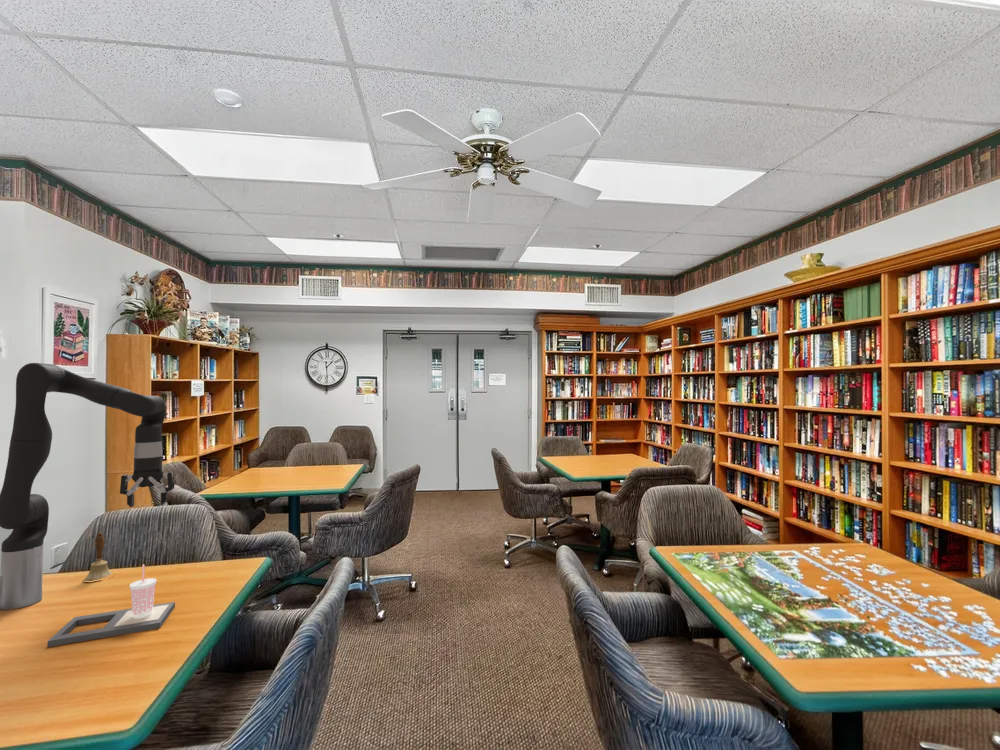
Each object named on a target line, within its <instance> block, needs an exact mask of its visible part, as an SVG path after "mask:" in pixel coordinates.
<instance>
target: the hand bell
mask: <svg viewBox="0 0 1000 750" xmlns="http://www.w3.org/2000/svg"><path fill="white" fill-rule="evenodd" d="M94 547H95V549H96V557H95V558H96V559H95V560H96V561H94V562H93V563H91V565H90V568H89V571H88V573H87V576H86V577H84V578H83V580H84V581H93V580H98V579H101V578H105V577H108V576H109V575H111V574H112V573H113V572H112V571H111V570H110V569H109V565H108V561H107V560H103V556H104V555H103V549H104V547H105V538H104V534H103V532H97V534H96V537H95V540H94Z"/></svg>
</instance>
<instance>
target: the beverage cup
mask: <svg viewBox="0 0 1000 750" xmlns="http://www.w3.org/2000/svg"><path fill="white" fill-rule="evenodd" d="M141 566H142V567H141V568H142V573H141V576H142V577H141V579H139V580H136V581H135V580H134V581H133V582H131V583H130V584H129V589H130V595H131V596H130V597H131V598H130V599H131V600H130V601H131V608H132V617H133V618H143V617H146V616H149V615H151V614H152V613H153V605H155V603H154V602H155V591H156V584H157V581H158V580H157V578H153V577H151V578H150V577H149V578H145V571H146V570H145V567H146V565H145V564H144V563H143V564H142V565H141Z"/></svg>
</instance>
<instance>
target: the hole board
mask: <svg viewBox="0 0 1000 750" xmlns="http://www.w3.org/2000/svg"><path fill="white" fill-rule="evenodd" d="M175 607H176V602H175V601H171V602H165V603H157V604H154V605H153V613H152V614H151V615H149V616H146V617H143V618H133V617H132V607H131V608H125V609H121V610H120V609H119V610H118V609H117V610H113V611H107V612H100V613H94V614H93V613H92V614H86V615H81V616H74V617H73V618H72V619H70V620H69V621H68V622H67V623H66V624H65V625H64V626H63V627H62V628H60V630H58V631H57V632H56V633H55V634H53V636H52V637H50V638H49V639H48V640H47V648H50V647H56V646H61V645H69V644H74V643H79V642H87V641H92V640H96V639H97V640H98V639H104V638H109V637H115V636H121V635H126V634H128V635H129V634H132V633H139V632H144V631H145V632H146V631H150V630H157V629H161V628H162V626H164V625H163V624H164V623H165V622H166V620H167V619H168V618H169V616H170V615H171V614H172V612H173V610H174V608H175ZM101 622H107V623H106V625H105V626H104V627H102V628H96V629H91V630H90V629H89V630H83V631H78V632H77V631H76V632H72V633H71V631H73V630H74V629H75V628H76V627H77V626H81V625H88V624H94V623H101Z"/></svg>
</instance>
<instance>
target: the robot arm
mask: <svg viewBox="0 0 1000 750" xmlns="http://www.w3.org/2000/svg"><path fill="white" fill-rule="evenodd" d="M48 393H60V394H61V393H63V394H69V395H75V396H79V397H81V398H84V399H86V400H88V401H89V402H90V401H91V402H93V403H95V404H98V405H102V406H104V407H108V408H111V409H117V410H120V411H123V412H125V413H128V414H129V415H133V416H136V417H141V421H140V424H139V425H137V426H136V427H135V429H134V430H135V431H134V432H135V435H134V448H133V473H132V474H123V475H121V476H120V489H119V494H120V495H125V496H126V505H127V506H128V507H129V508H133V507H134V506H135V492H136V491H137V490H138V489H139V488H145V487H146V488H147V487H148V488H151V487H154V486H155V488H157V489H158V490H159V491H160V492H161V493H160V505H165V503H166V502H167V501H168V493H169V492H170V491H173V490H174V489H175V473H174V471H171V470H170V471H169V472H164V471H163V443H162V428H163V425H164V422H165V421H164V420H165V417H166V413H167V412H166V411H167V405H166V402H165V400H164V399H163V398H162V397H161V396H158V395H146V394H145V395H144V394H140V393H136V392H133V391H132V390H131V389H128V388H126V387H125V388H124V387H121V386H117V385H114V384H111V383H107V382H103V381H98V380H93V379H90V378H87V377H84V376H81V375H79V374H76V373H74V372H72V371H70V370H67V369H66V368H63V367H60V366H58V365H56V364H51V363H41V362H30V363H26V364H24V365H23V366H22V367H21V368H20V369H19V370H18V372H17V375H16V379H15V410H14V416H13V425H12V430H11V431H12V432H11V435H10V436H11V437H10V442H9V447H8V457H7V464H6V467H5V473H4V480H3V483H2V486H1V487H2V488H1V491H0V528H2V529H4V530H12V531H11V533H10V534H9V535H8V536H7V537H6V538H5V539H4V540H3V541H2V543H1V548H0V549H1V554H0V555H1V556H0V557H1V558H0V610H2V611H3V610H4V611H8V609H10V610H15V608H16V609H21V608H25V607H28V606H31V605H35V604H37V603H39V602H41V600H43V572H44V569H43V568H44V539H45V538H46V535H47V532H48V529H49V528H48V525H49V515H50V507H49V503H48V501H47V499H46V497H44V496H43V495H41V494H37V493H32V488H33V484H34V481H35V479H36V477H37V476H38V474H39V472H40V471H41V469H42V468H43V467H44V465H45V464H46V462H47V461H48V458H49V455H50V452H51V448H52V439H53V431H52V427H51V424H50V421H49V420H48V417H47V413H46V410H45V409H46V408H45V405H46V399H47V394H48ZM163 477H164V478H165V479H166V480H167V486H166V485H165V484H164V482H163V481H162V478H163ZM131 480H132V481H134V484H133V485H132V486H131V487H130V489H128V488H129V487H128V486H129V482H130V481H131Z"/></svg>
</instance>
